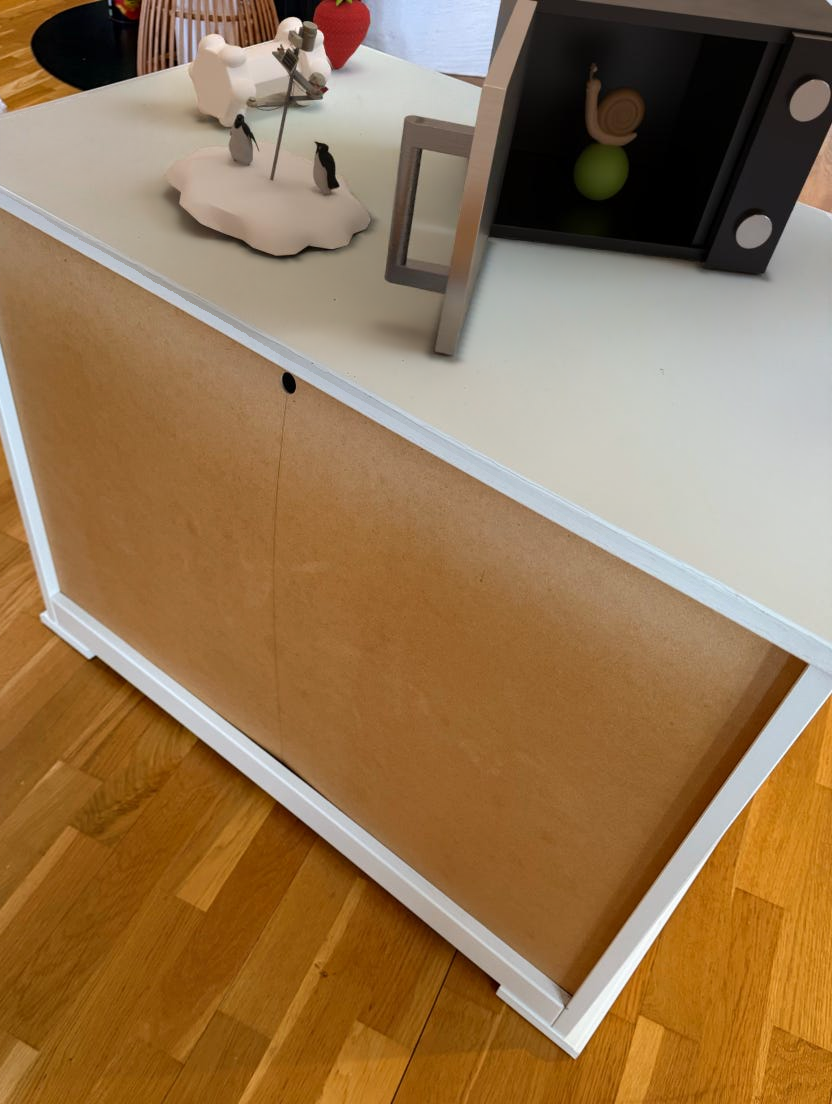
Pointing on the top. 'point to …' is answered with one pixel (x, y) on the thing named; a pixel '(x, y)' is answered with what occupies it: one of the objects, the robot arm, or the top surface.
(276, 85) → the bone shaped toy
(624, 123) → the snail figurine
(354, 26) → the strawberry
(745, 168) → the microwave
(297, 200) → the figurine
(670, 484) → the top surface
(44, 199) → the top surface
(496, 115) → the microwave door
